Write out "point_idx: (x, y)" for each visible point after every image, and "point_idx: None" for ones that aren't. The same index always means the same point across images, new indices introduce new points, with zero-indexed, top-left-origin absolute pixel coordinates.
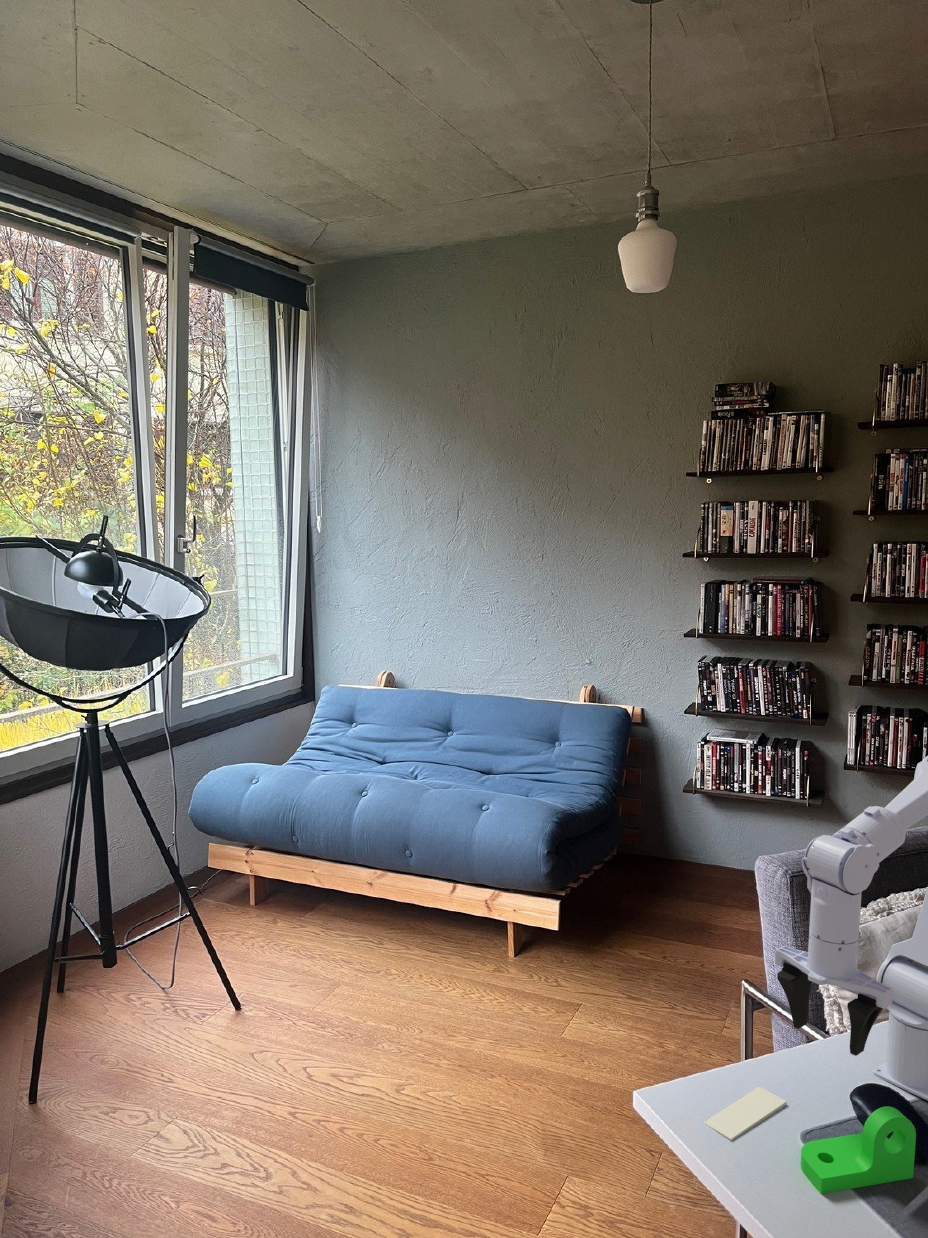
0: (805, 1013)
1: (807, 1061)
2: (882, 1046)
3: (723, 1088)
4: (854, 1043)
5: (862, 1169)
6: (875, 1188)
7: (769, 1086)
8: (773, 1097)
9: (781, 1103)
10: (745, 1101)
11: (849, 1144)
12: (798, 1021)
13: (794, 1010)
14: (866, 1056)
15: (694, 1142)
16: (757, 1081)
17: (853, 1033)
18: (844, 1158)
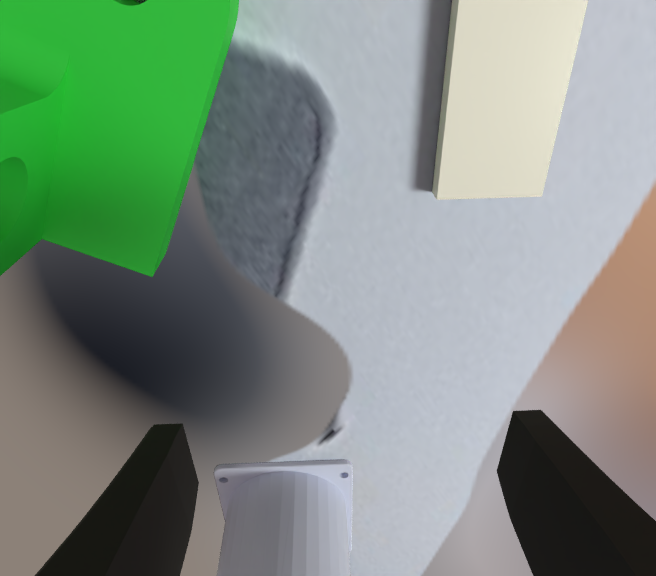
0: (528, 525)
1: (485, 402)
2: (387, 534)
3: (645, 109)
4: (115, 487)
5: (9, 31)
6: None
7: (519, 242)
8: (479, 182)
9: (443, 175)
10: (548, 75)
11: (143, 133)
12: (533, 451)
13: (600, 507)
14: (393, 494)
15: None
16: (560, 235)
17: (92, 558)
18: (88, 35)
